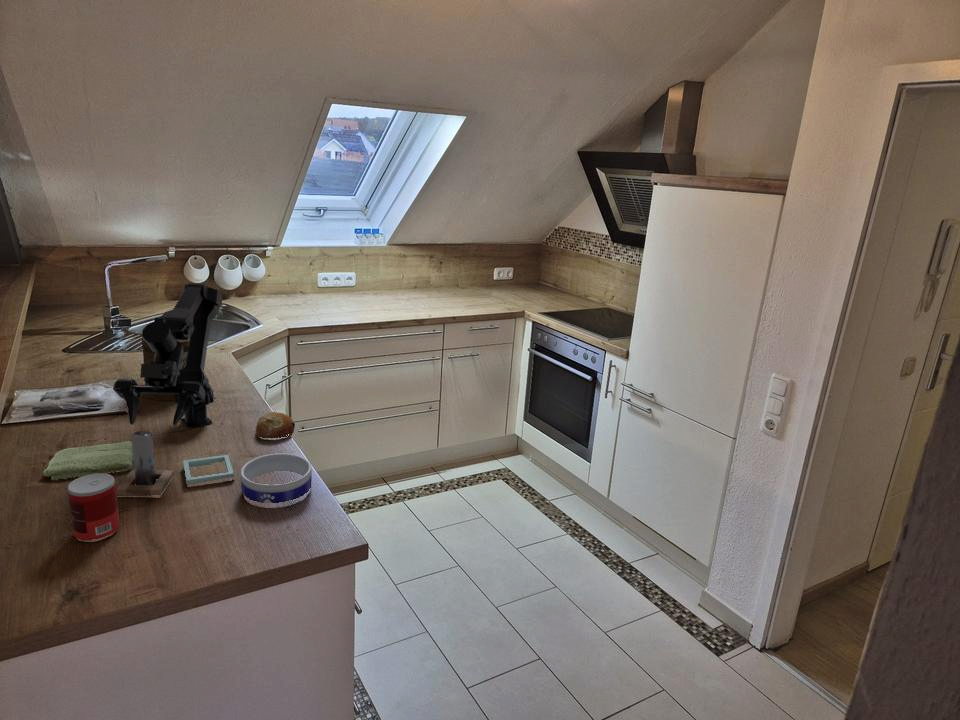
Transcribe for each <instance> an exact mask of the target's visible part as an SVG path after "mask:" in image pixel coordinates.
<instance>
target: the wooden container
mask: <svg viewBox="0 0 960 720" xmlns="http://www.w3.org/2000/svg"><path fill="white" fill-rule="evenodd" d="M177 341H178V342H180V343H181V344H182V346H183V351H184V354H183V355H182V357H181V362H180V366H179V370H182V369H183V368H184V367H185V366H186V361H187V354H188V348H189V341H190V337H189V339H188V340H177ZM141 346H142V357H143V364H150V363H151V361H154V357H155V352H153V351H152V350H151V348H150V347H149V345H148V344H147V342H146V341H145V339H144V338H143V336H142V335H141ZM144 385H148V383H147V382H145V381H144ZM145 395H146V396H147V398H149V399H151V400H155V401H158V402H159V401H161V402H174V401H175V397H174V394H146V393H145ZM175 402H176V401H175Z"/></svg>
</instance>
